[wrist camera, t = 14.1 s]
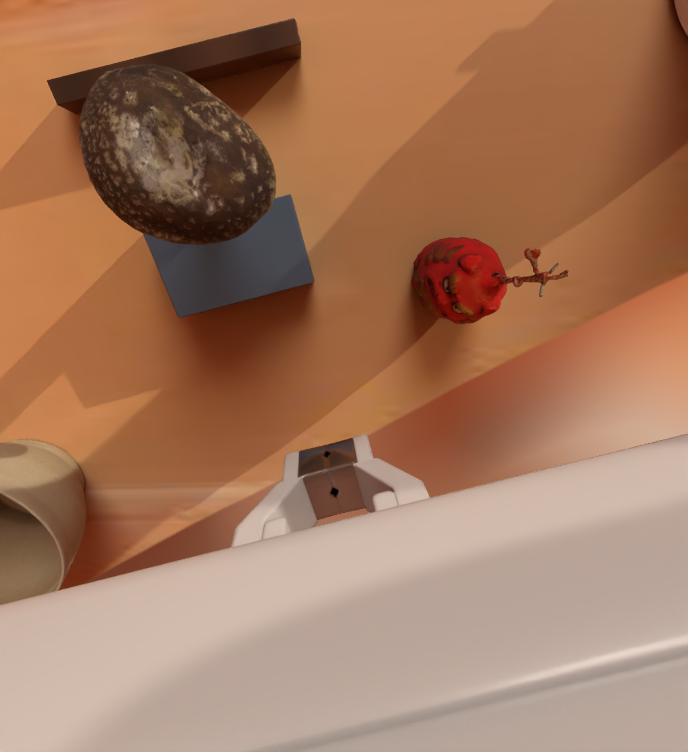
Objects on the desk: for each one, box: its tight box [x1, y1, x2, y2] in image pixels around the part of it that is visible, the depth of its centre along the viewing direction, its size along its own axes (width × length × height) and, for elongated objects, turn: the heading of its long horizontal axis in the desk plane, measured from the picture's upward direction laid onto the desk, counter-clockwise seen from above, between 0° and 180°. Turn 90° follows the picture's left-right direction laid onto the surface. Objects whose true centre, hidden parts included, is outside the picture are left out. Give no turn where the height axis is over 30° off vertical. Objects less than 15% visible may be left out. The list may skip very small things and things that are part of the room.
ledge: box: [47, 18, 301, 114], centre depth 28 cm, size 18×2×2 cm, turn 104°
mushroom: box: [79, 64, 276, 245], centre depth 25 cm, size 9×9×15 cm
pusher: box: [143, 194, 314, 318], centre depth 33 cm, size 12×7×4 cm, turn 104°
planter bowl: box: [0, 440, 86, 605], centre depth 35 cm, size 16×16×11 cm
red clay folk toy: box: [411, 237, 568, 324], centre depth 30 cm, size 8×7×15 cm
